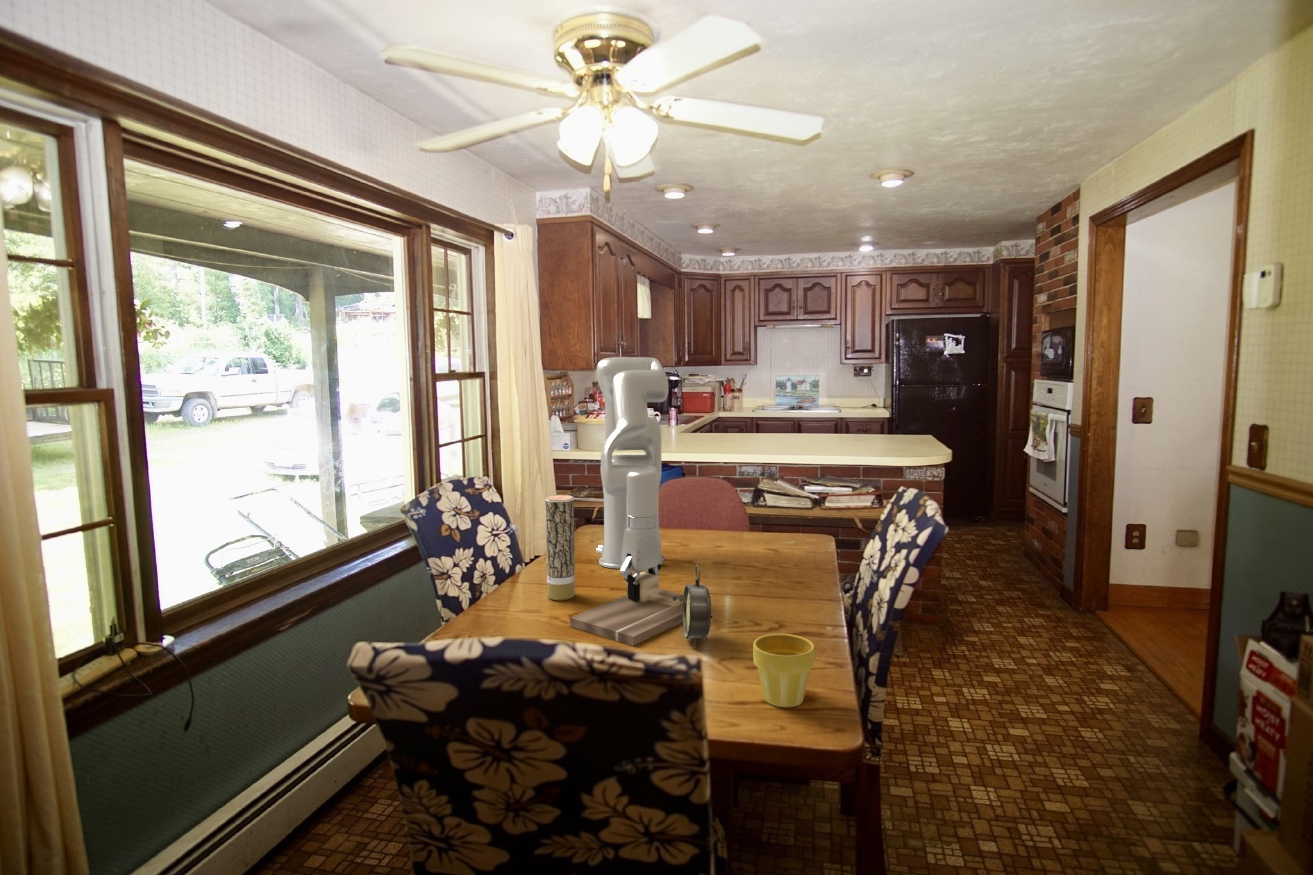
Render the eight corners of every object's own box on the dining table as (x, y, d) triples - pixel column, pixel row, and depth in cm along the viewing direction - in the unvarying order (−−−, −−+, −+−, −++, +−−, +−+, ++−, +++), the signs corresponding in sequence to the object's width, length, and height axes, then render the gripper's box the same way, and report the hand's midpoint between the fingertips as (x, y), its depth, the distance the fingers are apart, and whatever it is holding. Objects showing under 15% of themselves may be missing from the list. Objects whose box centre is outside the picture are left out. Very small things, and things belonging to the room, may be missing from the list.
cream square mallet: (626, 598, 168) (626, 577, 167) (642, 591, 172) (642, 571, 172) (669, 609, 160) (669, 587, 159) (685, 602, 164) (685, 581, 164)
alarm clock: (681, 632, 151) (681, 558, 150) (706, 631, 152) (706, 557, 150) (687, 652, 141) (688, 573, 139) (714, 651, 141) (715, 572, 139)
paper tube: (552, 603, 170) (551, 501, 168) (543, 595, 176) (541, 496, 174) (579, 598, 173) (577, 498, 171) (569, 591, 179) (567, 494, 177)
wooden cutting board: (570, 626, 155) (570, 617, 155) (649, 594, 177) (649, 586, 177) (633, 646, 144) (633, 636, 144) (709, 609, 166) (709, 600, 166)
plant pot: (751, 684, 127) (751, 631, 126) (809, 686, 126) (810, 633, 125) (753, 712, 116) (754, 654, 115) (817, 714, 115) (818, 657, 114)
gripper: (652, 513, 176) (652, 584, 177) (606, 526, 162) (606, 602, 164) (677, 517, 171) (676, 589, 173) (631, 530, 158) (631, 609, 159)
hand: (642, 595), depth 168 cm, fingers closed on cream square mallet, 6 cm apart
